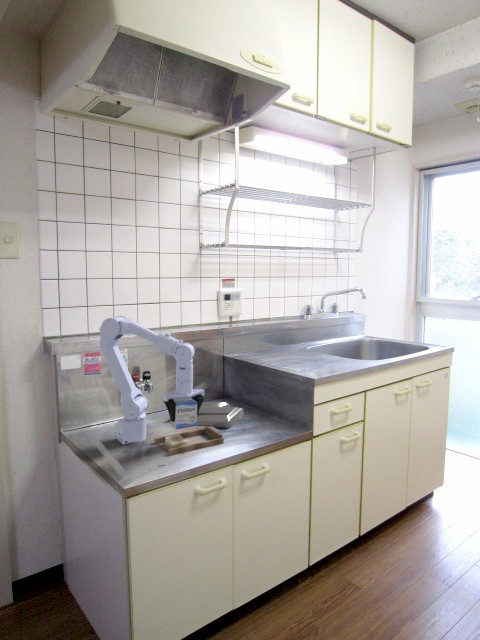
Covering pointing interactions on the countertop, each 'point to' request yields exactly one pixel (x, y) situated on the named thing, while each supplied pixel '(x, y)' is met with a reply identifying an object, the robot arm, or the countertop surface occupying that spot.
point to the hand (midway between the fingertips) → (183, 418)
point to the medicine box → (185, 414)
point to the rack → (207, 430)
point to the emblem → (219, 414)
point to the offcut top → (175, 441)
